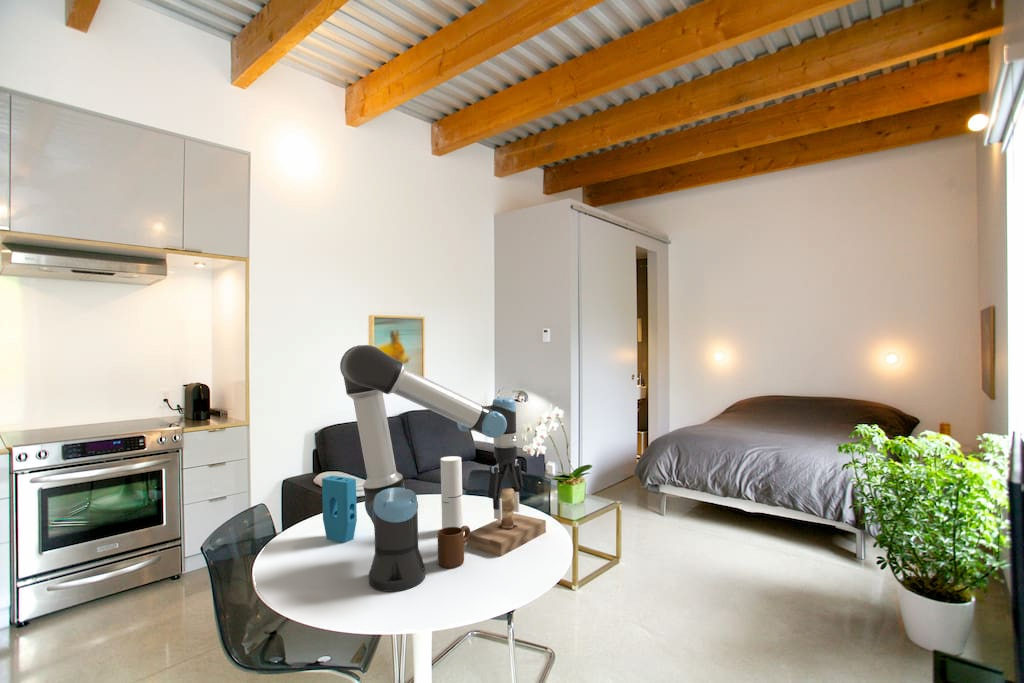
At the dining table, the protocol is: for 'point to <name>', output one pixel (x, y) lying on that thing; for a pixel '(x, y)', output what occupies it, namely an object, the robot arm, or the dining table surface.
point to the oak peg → (507, 508)
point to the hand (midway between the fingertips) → (507, 514)
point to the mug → (452, 546)
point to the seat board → (506, 535)
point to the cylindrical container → (451, 492)
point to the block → (339, 508)
